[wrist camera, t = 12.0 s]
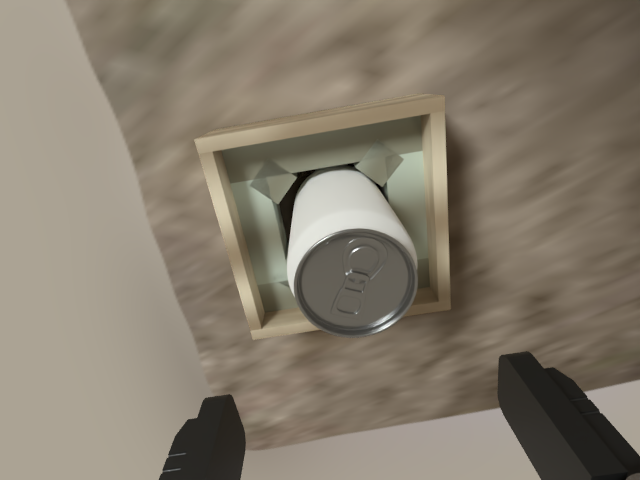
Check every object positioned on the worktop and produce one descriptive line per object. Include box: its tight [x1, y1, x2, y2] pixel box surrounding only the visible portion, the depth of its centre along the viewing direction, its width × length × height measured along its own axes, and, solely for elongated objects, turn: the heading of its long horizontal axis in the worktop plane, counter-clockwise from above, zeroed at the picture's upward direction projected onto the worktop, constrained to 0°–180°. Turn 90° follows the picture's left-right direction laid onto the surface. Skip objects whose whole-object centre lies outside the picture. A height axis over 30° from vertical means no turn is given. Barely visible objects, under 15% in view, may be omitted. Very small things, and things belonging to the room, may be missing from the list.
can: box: [287, 165, 418, 338], centre depth 22 cm, size 6×6×12 cm
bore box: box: [195, 93, 451, 340], centre depth 25 cm, size 14×14×5 cm
